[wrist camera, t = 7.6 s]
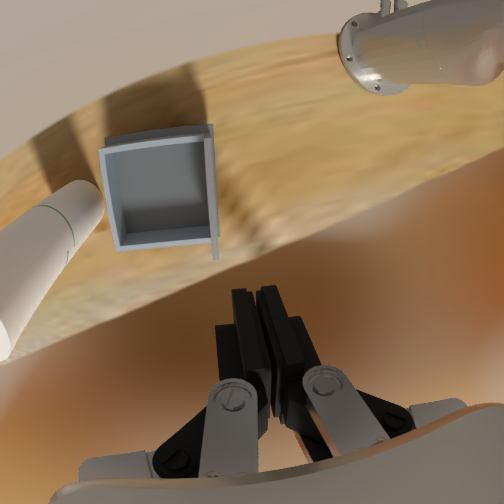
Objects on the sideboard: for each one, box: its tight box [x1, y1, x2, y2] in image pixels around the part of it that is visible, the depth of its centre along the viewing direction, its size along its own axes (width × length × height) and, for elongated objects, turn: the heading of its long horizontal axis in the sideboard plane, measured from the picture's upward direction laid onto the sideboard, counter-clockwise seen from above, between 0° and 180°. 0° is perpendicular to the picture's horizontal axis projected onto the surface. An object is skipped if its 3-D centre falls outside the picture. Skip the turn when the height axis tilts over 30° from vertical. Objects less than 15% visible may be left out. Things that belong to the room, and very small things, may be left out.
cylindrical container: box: [0, 180, 105, 361], centre depth 24 cm, size 7×7×25 cm
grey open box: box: [98, 124, 220, 260], centre depth 30 cm, size 12×13×12 cm
